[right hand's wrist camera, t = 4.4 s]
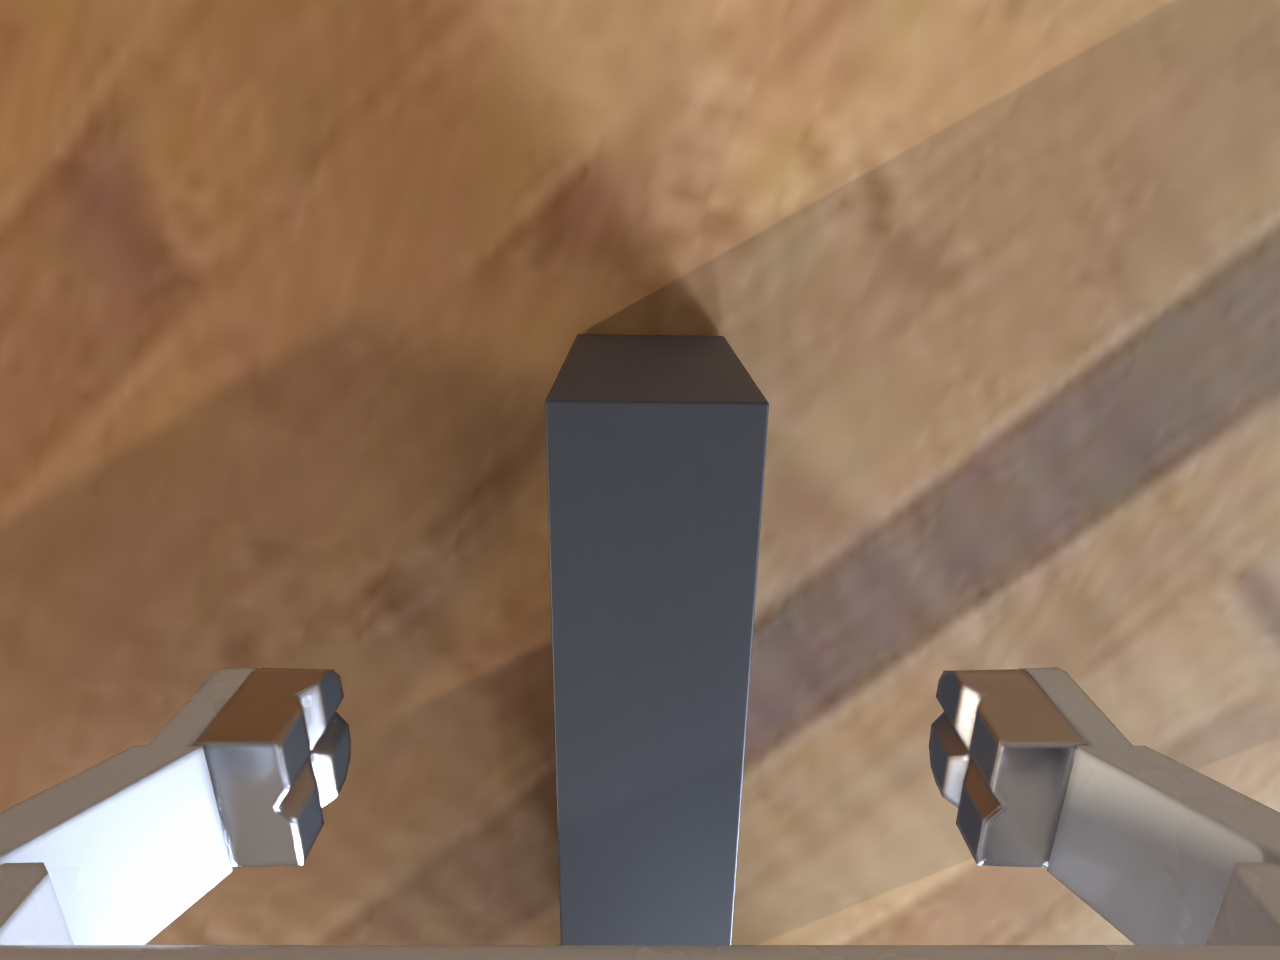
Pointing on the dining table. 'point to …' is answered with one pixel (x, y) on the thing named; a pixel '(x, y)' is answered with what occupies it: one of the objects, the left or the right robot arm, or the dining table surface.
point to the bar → (651, 631)
